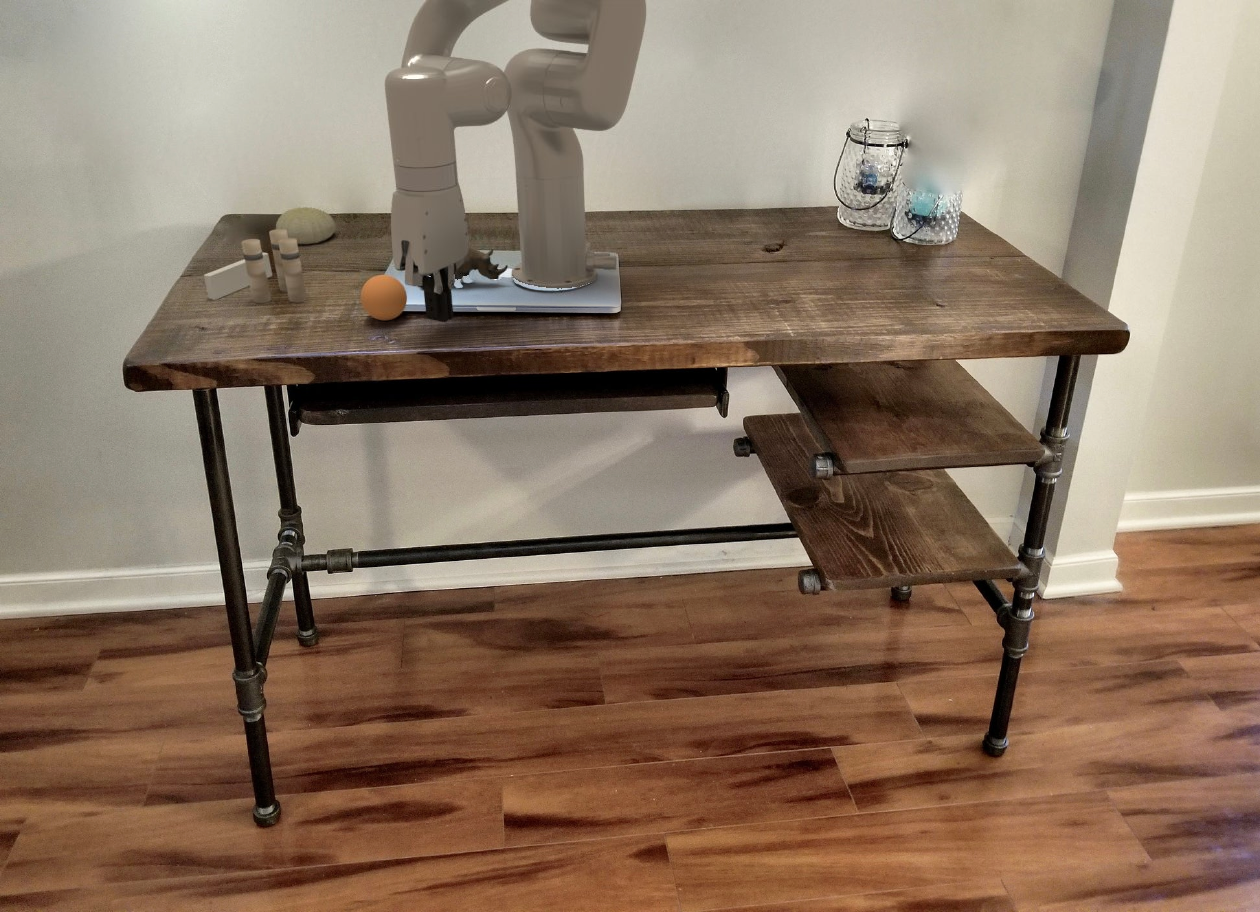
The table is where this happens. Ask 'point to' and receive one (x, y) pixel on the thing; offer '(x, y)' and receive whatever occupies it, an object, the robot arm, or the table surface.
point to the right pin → (278, 255)
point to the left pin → (256, 270)
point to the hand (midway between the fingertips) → (440, 318)
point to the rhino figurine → (479, 265)
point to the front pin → (292, 269)
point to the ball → (383, 297)
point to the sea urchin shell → (307, 225)
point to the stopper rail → (231, 278)
